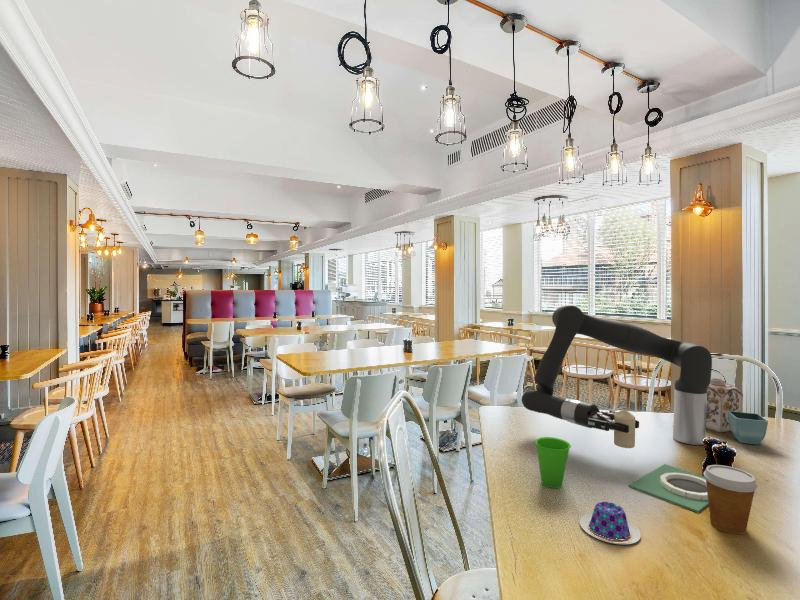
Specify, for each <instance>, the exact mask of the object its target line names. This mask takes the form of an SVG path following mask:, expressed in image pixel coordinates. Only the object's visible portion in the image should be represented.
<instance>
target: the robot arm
mask: <svg viewBox="0 0 800 600" xmlns="http://www.w3.org/2000/svg"><path fill="white" fill-rule="evenodd" d="M551 319H552V322H553V325H554V326H555V330H554V333H553V336H552V339H551V341H550V343H549V345H548V347H547V349H546V350H545V352H544V354H543V356H542V357H541V360H540V362H539V363H538V367H537V370H536V371H535V374H534V378H533V380H534V383H536V384H537V387H536V390H535V389H529V390H526V391H524V393H523V394H522V395H521V404H522V405H523V407H524V408H525V409H526V410H528V411H531V412H535V413H540V414H545V415H548V416H551V417H552V418H553V417H554V418H556V419H559V420H563V421H566V422H568V423H571V424H574V425H578V426H582V427H585V428H588V429H597V430H600V431H601V430H602V431H606V432H609V431H614V430H618V431H621V432H625V433H628V432H629V425H626V424H622V423H618V422H615V421H614V415H615V414H616V413H618V412H619V411H614V410H613V409H611V410H609V412H608V411H606V410H601V411H600V409H599V407H598V406H597V405H596V404H594V403H589V402H586V401H582V400H578V399H573V398H572V399H571V398H566V397H563V396H558V395H557V396H555V395H554V387H555V383H556V380H557V379H558V378H557V377H558V375H559V373H560V370H561V368H562V365H563V363H564V360H565V357H566V355H567V352H568V351H569V348H570V346H571V344H572V342H573V340H575V339H574V338H576V335H582V336H587V337H589V338H591V339H593V340H596V341H599V342H600V343H603V344H606V345H609V346H612V347H615V348H616V349H620V350H622V351H626V352H629V353H632V354H637V355H643V356H644V355H645V356H651V357H655V358H657V359H658V358H659V359H661V360H664V361H666V362H668V363H670V364H673V365H675V366H677V367H679V368H680V374H679V378H678V379H676V380H675V381H674V382H675V383H674V391H673V393H674V397H673V398H674V400H673V425H672V439H673V440H674V441H677V442H680V443H682V444H687V445H693V446H703V445H704V444H703V439H704V438H705V439H706V436H707V435H706V432H707V428H706V411H707V389H708V386H709V385H710V381H711V378H712V368H713V358H712V354H711V352H710V351H709V349H708V348H706V347H704V346H702V345H700V344H696V343H693V342H687V341H681V340H678V339H677V340H676V339H671V338H667V337H663V336H660V335H658V334H656V333H654V332H652V331H650V330H647V329H645V328H642V327H640V326H639V325H638V326H637V325H634V324H630V323H627V322H622V321H620V320H614V319H609V318H608V319H607V318H601V317H600V318H599V317H596V316H593V315H590V314H589V315H588V314H586V313H584V312H583V311H582V310H581V308H579V307H578V306H576V305H573V304H572V305H571V304H567V305H562V306H560V307H558V308H556V309H555V310H554V312H553V313H552V316H551ZM639 428H640V421H639V420H638V419H637V420H636V419H635V429H639Z"/></svg>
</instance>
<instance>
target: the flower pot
mask: <svg viewBox="0 0 800 600" xmlns="http://www.w3.org/2000/svg"><path fill="white" fill-rule="evenodd" d="M728 416H729V424H730V428H731V431H730V432H731V433H732V435H733V436H734V438H735V439H736V440H737V441H738V443H740V444H748V445H749V444H750V445H754V446H755V445H760V443H762V442H763V441H764V439H765V437H766V434H767V430H768V425H769V420H767V419H766V418H764V417H763V416H762V415H760V414H759V413H755V412H754V413H752V412H745V411H744V412H743V411H742V412H733V411H728Z"/></svg>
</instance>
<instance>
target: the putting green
mask: <svg viewBox="0 0 800 600" xmlns="http://www.w3.org/2000/svg"><path fill="white" fill-rule="evenodd" d="M628 488H632V489H633V490H637V491H639V492H642V493H644V494H647V495H649V496H652V497H655V498H658V499H661V500H662V501H666V502H669V503H671V504H673V505H677V506H679V507H681V508H684V509H686V510H689V511H692V512H695V513H698V514H699V513H700V512H701V511H703V510H704V509H705V508H706V507H707V506H708V507H709V503H708V494H707V484H706V479H705V476H704V475H700V474H697V473H694V472H691V471H687V470H685V469H682V468H678V467H675V466H671V465H669V464H666V463H664V464H663V465H661V466H659V467H656V468H654V470H652V471H650V472H648V473H646V474H645V475H643V476H642V477H640V478H638V479H636V480H634V481H633V482H631V483H630V484H628Z"/></svg>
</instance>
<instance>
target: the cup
mask: <svg viewBox="0 0 800 600" xmlns="http://www.w3.org/2000/svg"><path fill="white" fill-rule="evenodd" d="M534 443H535V445H536V450H537V451H536V452H537V459H538V466H539V474H540V481H541V483H542V484H543V486H545V487H548V488H553V489H556V488H557V489H558V488H560V487H562V485H563V482H564V476H565V472H566V466H567V461H568V457H569V451H570V448H572V445H571V443H570V442H568V441H566V440H564V439H562V438H558V437H553V436H544V437H543V436H542V437H538V438H536V439H535V441H534Z"/></svg>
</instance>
